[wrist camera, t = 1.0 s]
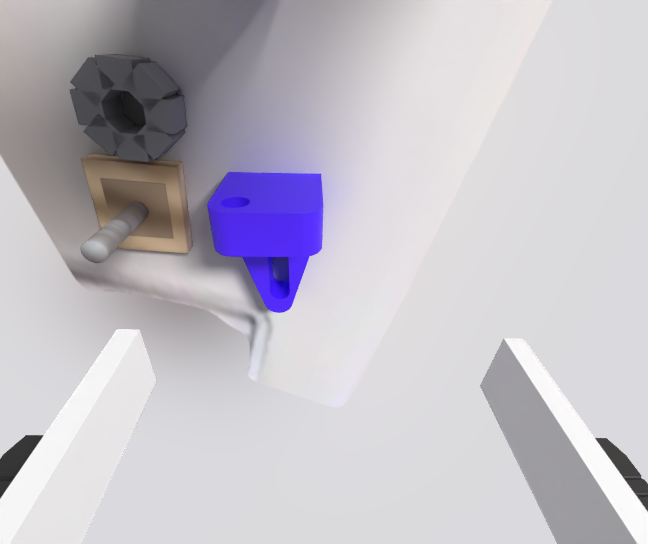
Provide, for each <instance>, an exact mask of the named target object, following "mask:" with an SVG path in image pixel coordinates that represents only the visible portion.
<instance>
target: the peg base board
mask: <svg viewBox="0 0 648 544" xmlns="http://www.w3.org/2000/svg"><path fill="white" fill-rule="evenodd" d="M81 161H82V164H83V168H84V171H85V175H86V178H87V182H88V185H89V189H90V192H91V196H92V199H93V203H94V206H95V210H96V213H97V217H98V220H99V224H100V227H101V229H100V230H99V231H98V232H97V233H96V234H95V235H93V236H92V237H91V238H90V239H89V240H88V241H86V242H85V243H84V244H83V245H82V246H81V253H82V255H83V256H84V257H85V258H86V259H87V260H89V261H91V262H94V263H101V262H103V261H104V260H105V259H106V258H107V257H108V256H109V255H110V254H111V253H112V252H113V251H114V250H115V249H116V248H122V249H136V250H150V251H163V252H177V253H188V252H189V251H190V249H191V247H192V246H193V245H192V237H191V229H190V221H189V213H188V205H187V197H186V189H185V181H184V173H183V165H182V162H172V161H162V160H150V161H149V162H146V161H136V160H125V159H118V156H109V155H98V154H90V155H87V156H85V157H83V158H81Z"/></svg>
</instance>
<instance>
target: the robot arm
mask: <svg viewBox="0 0 648 544" xmlns="http://www.w3.org/2000/svg"><path fill="white" fill-rule="evenodd" d="M156 381H157V380H156V377H155V374H154V371H153V369H152V365H151V362H150V359H149V356H148V353H147V350H146V347H145V344H144V341H143V339H142V336H141V333H140V330H129V329H117V330H116V331H115V333H114V334H113V336H112V337H111V339H110V340H109V342H108V343H107V344H106V346H105V347H104V349H103V350H102V352H101V353H100V355H99V356H98V357H97V359H96V360H95V362H94V363H93V365H92V366H91V368H90V369H89V371H88V372H87V373H86V375H85V376H84V378H83V379H82V381H81V382H80V384H79V385H78V387H77V388H76V390H75V391H74V392H73V394H72V395H71V397H70V398H69V400H68V401H67V403H66V404H65V406H64V407H63V408H62V410H61V411H60V413H59V414H58V416H57V417H56V419H55V420H54V422H53V423H52V424H51V426H50V427H49V429H48V430H47V432H46V433H45V435H40V436H39V435H38V436H37V435H26V436H25V437H24V438H22V439H21V440H20V441H19V442H18V443H16V444H15V445H14V446H13V447H12V448H11V449H9V450H8V451H7V452H6V453H5V454H4V455H3V456H2V458H1V459H0V544H81V543H82V541H83V539H84V537H85V534H86V532H87V530H88V528H89V526H90V524H91V522H92V520H93V517H94V515H95V513H96V511H97V509H98V507H99V504H100V502H101V500H102V498H103V495H104V493H105V491H106V489H107V487H108V485H109V483H110V481H111V479H112V476H113V474H114V472H115V470H116V468H117V466H118V463H119V461H120V459H121V457H122V455H123V453H124V451H125V448H126V446H127V444H128V442H129V440H130V438H131V435H132V433H133V431H134V429H135V427H136V424H137V422H138V420H139V418H140V416H141V414H142V412H143V409H144V407H145V405H146V403H147V401H148V398H149V396H150V394H151V392H152V390H153V388H154V386H155V384H156ZM480 386H481V389H482V391H483V392H484V395H485V397H486V399H487V401H488V403H489V405H490V407H491V409H492V411H493V413H494V415H495V417H496V419H497V421H498V423H499V425H500V428H501V430H502V431H503V434H504V436H505V438H506V440H507V442H508V444H509V446H510V448H511V450H512V452H513V454H514V456H515V458H516V460H517V462H518V464H519V466H520V468H521V470H522V472H523V474H524V476H525V479H526V481H527V483H528V485H529V487H530V489H531V491H532V493H533V495H534V497H535V499H536V500H537V503H538V505H539V507H540V509H541V511H542V513H543V515H544V517H545V519H546V521H547V523H548V525H549V528H550V530H551V532H552V534H553V536H554V538H555V540H556V542H557V544H648V484H647V482H646V481H645V480H643V479H642V478H641V475H640V473H639V472H638V471H637V469H636V468H635V467H634V465H633V464H632V463H631V461H630V460H629V459H628V457H627V456H626V455H625V454H624V453H623V452H621V451H620V450H619V449H618V448H617V447H616V446H615V445H614V444H612V443H611V442H610V441H609V440H608V439H607V438H594V436H593V435H592V433H591V432H590V431H589V429H588V428H587V426H586V425H585V424H584V422H583V421H582V419H581V418H580V417H579V415H578V414H577V413H576V411H575V410H574V408H573V407H572V406H571V404H570V403H569V401H568V400H567V399H566V397H565V396H564V394H563V393H562V392H561V390H560V389H559V387H558V386H557V385H556V383H555V382H554V380H553V379H552V378H551V376H550V375H549V374H548V372H547V371H546V369H545V368H544V366H543V365H542V364H541V362H540V361H539V360H538V358H537V357H536V355H535V354H534V353H533V351H532V350H531V348H530V347H529V346H528V344H527V343H526V341H525V340H524V339H510V338H504V339H503V341H502V343H501V345H500V347H499V349H498V351H497V353H496V355H495V357H494V359H493V361H492V363H491V365H490V367H489V369H488V371H487V373H486V375H485V377H484V379H483V381H482V383H481V385H480Z"/></svg>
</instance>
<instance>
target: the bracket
mask: <svg viewBox="0 0 648 544" xmlns="http://www.w3.org/2000/svg"><path fill="white" fill-rule="evenodd" d="M207 206H208V212H209V218H210V224H211V230H212V235H213V241H214V247H215V250H216V252H218V253H219V254H221V255H224V256H232V257H243V259H244V261H245V263H246V266H247V268H248V270H249V272H250V274H251V276H252V278H253V280H254V282H255V284H256V286H257V289H258V291H259V293H260V295H261V297H262V299H263V301H264V303H265V305H266V307H267V308H268V309H269V310H271V311H273V312H278V313H281V312H285V311H287V310H289V309H290V308H291V306H292V304H293V301H294V298H295V295H296V292H297V290H298V287H299V284H300V281H301V278H302V275H303V273H304V270H305V267H306V264H307V261H308V259H309V256H312V255H315V254H317V253H318V252H319V251H320V250H321V249H322V229H323V195H322V182H321V174H295V173H243V172H228V174H227V175H226V177H225V178H224V180H223V181H222V183H221V184H220V186H219V187H218V189H217V190H216V192H215V193H214V195H213V196H212V198H211V199H210V201H209V202H208V204H207ZM272 257H289V279H288V280H286V281H279V280H277V279H276V278H275V277H274V275H273V262H272Z"/></svg>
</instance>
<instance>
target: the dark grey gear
mask: <svg viewBox="0 0 648 544" xmlns="http://www.w3.org/2000/svg"><path fill="white" fill-rule="evenodd" d="M71 83H72V84H73V85H74V86H75V87H76V88H75V89H70V94H71V97H72V101H73V105H74V108H75V112H76V116H77V119H78V123H79V124H80V125H88V127H87V128H86V129H85V130H84V132H85V133H86V134H87V135H88V136H89V137H90V138H92V139H93V140H94V141H95V142H96V143H97V144H99V145H100V146H101V147H102V148H103V149H104V150H105V151H107V152H108V153H109V154H110V155H111V156H112V155H114V154H116V153H117V155H118V159H125V160H136V161H146V162H149V161H150V160H152V159H154V160H155V159H156V158H158V157H159V156H161V155H162V154H163V153H165V152H166V151H168V150H169V149H170V148H171V147H172V146H173V145H174V143H175V142H176V141H177V140H178V139H179V138H180V137H181V136H182V135H183V134H184V133H185V131H184V130H183V129H184V128H185V127H187V121H186V112H185V103H184V96H182V95H175V94H176V93H177V92H178V91H179V90H180V88H179V87H178V86H177V84H176V83H175V82H174V81H173V80H172V79H171V78H170V77H169V76H168V75H167V74H166V73H165V72H164V71H163V69H162V68H161V67H160V66H159V65H158V64H157V63H156V62H150V63H149V58H143V57H135V56H126V55H118V54H113V55H95V57H91V58H88V59H87V60H86V61H85V63H84V64H83V65H82V67H81V68H80V70H79V71H78V72H77V74H76V75H75V76H74V78H73V79H72V80H71ZM125 91H129V92H130V93H131V94H132V95H133V96H134V97H135V98H136V99H137V100H138V101H139V102H140V103H141V104H142V105H143V108H144V114H145V120H146V124H145V125H144V126H141V125H137V124H136V123H135V122H134V121H132V120H131V119H130V118H129V117H128V116H127V115H126V114H125V113H124V109H123V104H122V99H121V96H122V94H123V93H124V92H125Z"/></svg>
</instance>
